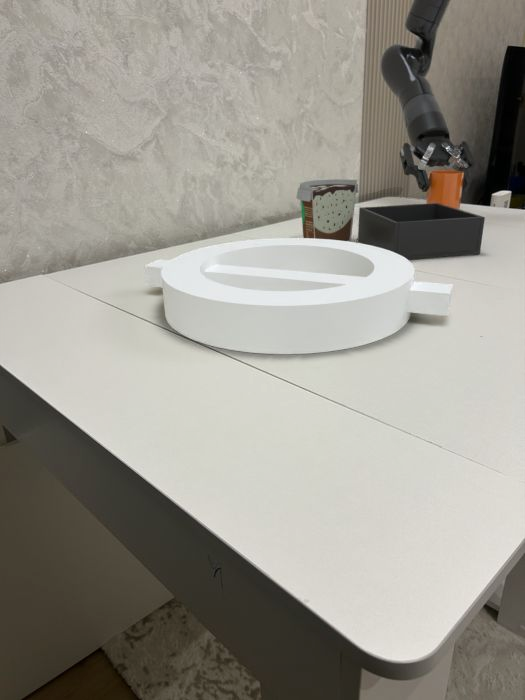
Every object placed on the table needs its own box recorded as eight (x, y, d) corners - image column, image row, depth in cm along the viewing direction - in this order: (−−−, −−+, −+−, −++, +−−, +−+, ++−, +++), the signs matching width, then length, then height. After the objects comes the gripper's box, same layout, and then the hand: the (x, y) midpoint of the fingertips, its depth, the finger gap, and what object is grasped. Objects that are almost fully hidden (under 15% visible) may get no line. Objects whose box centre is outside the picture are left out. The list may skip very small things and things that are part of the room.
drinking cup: (447, 215, 113) (452, 169, 110) (464, 220, 108) (470, 172, 104) (419, 216, 112) (423, 171, 109) (434, 222, 107) (439, 174, 103)
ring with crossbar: (141, 289, 71) (137, 252, 69) (331, 262, 80) (332, 230, 79) (210, 376, 47) (206, 324, 45) (466, 324, 57) (472, 280, 55)
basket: (434, 235, 96) (437, 202, 94) (479, 254, 83) (485, 217, 81) (357, 240, 93) (359, 207, 91) (392, 261, 81) (395, 222, 78)
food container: (328, 235, 98) (329, 177, 94) (356, 240, 94) (358, 179, 90) (280, 247, 90) (280, 184, 86) (308, 253, 86) (309, 187, 82)
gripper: (399, 110, 108) (420, 177, 102) (465, 108, 110) (489, 174, 105) (386, 138, 115) (405, 202, 109) (448, 136, 117) (470, 198, 112)
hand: (446, 188), depth 107 cm, fingers open, 8 cm apart
